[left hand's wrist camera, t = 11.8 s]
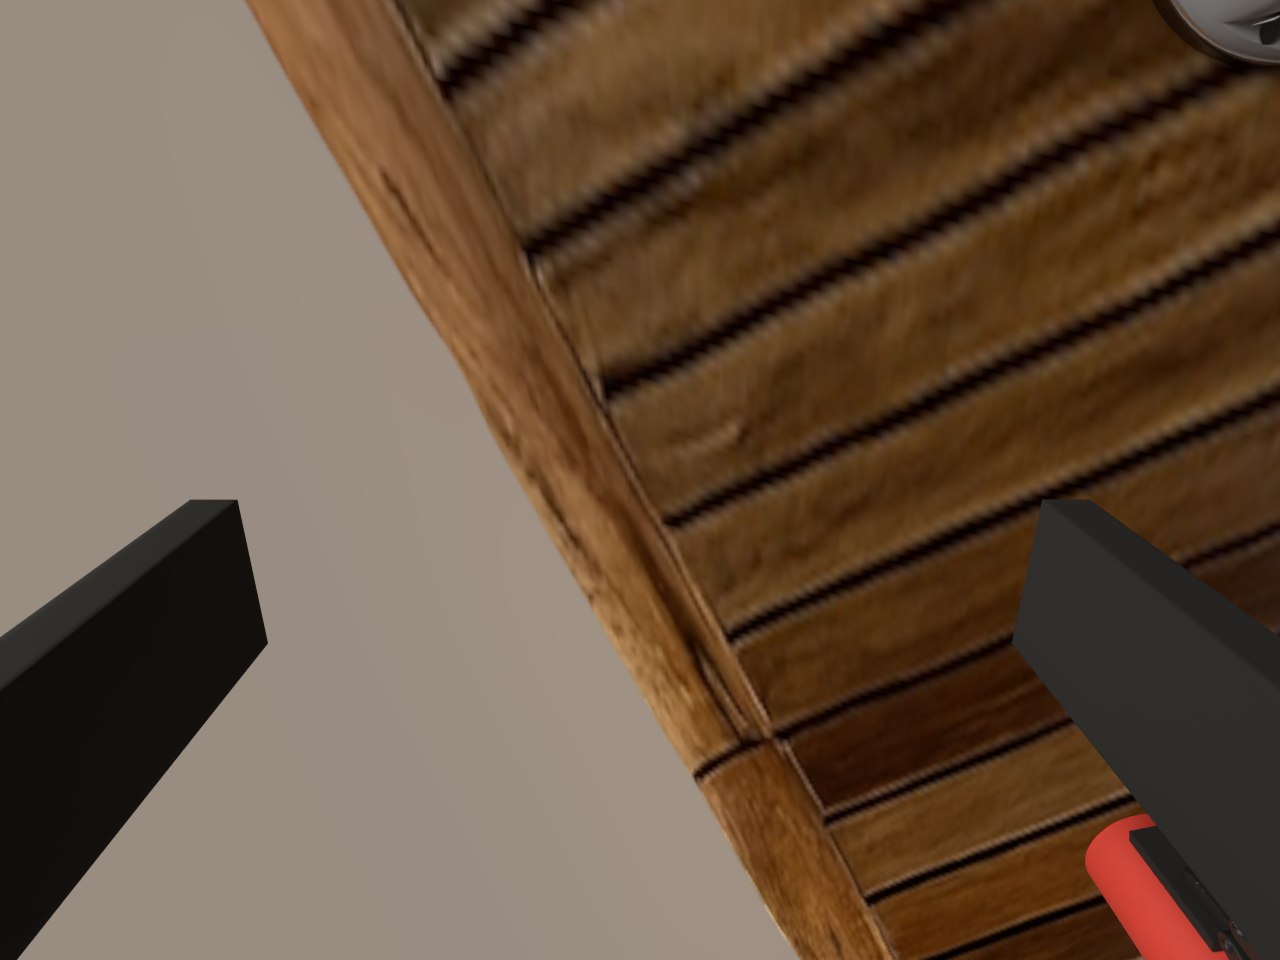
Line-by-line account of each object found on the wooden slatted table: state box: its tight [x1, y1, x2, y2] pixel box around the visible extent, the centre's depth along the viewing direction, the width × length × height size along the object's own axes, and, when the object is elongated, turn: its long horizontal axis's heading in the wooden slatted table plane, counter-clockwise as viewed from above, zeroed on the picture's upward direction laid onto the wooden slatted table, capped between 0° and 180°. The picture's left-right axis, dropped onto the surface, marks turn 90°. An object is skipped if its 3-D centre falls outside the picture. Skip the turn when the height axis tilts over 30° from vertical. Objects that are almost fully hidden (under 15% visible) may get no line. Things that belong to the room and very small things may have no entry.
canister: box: [1085, 814, 1229, 960], centre depth 40 cm, size 6×6×9 cm
